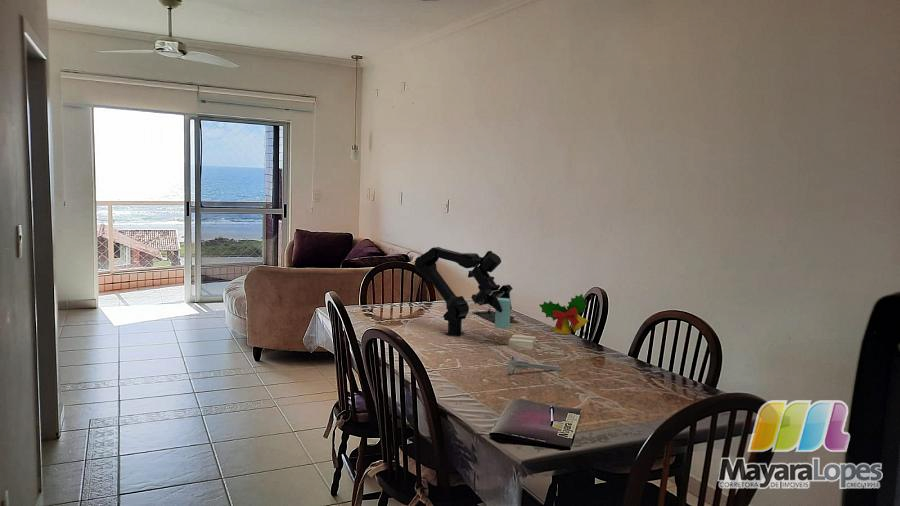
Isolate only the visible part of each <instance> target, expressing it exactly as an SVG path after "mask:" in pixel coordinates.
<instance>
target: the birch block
mask: <svg viewBox="0 0 900 506" xmlns="http://www.w3.org/2000/svg"><path fill="white" fill-rule="evenodd" d="M536 341H537V336H533V335H532V336H530V335H523V334H522V335H521V334H513V335H512V336H510V338H509V341H508V348H509V349H517V350H526V351H528V350H529V351H533V350H534V348H535V347H536V344H537V343H536Z"/></svg>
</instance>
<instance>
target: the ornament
mask: <svg viewBox="0 0 900 506" xmlns="http://www.w3.org/2000/svg"><path fill="white" fill-rule="evenodd" d="M586 300H587V299H586V298H584V295H583V293H581V294H580V295H575V296H574V297H570V301H567V304H568V305H563V306H562V305H560V303H559V302H557V303H553V302H552V301H551V300H549V302H546V301H543V304H538V305H539V307H540V308H541V313H545V318H551V319H552V321H553V322H554V321H555V320H557V321H556V323H555V326H554V327H553V329H552V332H553V333H555V334H559V333H560V334H561V335H570V334H572V333H573V332H574V333H576V332H577V331H578V330H580V329H581V328H582V327H584V326H585V325H586V324H587V323H589V320H588V319H586V318H585V317H583V316H581V315H580V314H581V313H585V307H587V306H588V305H587V304H586V302H585V301H586Z"/></svg>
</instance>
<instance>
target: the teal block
mask: <svg viewBox="0 0 900 506" xmlns="http://www.w3.org/2000/svg"><path fill="white" fill-rule="evenodd" d="M497 299H498V301H499V303H500V306H501V308H502V312H501V313H500V312H499V311H497V310H496V309H495V311H494V312H495V323H494V328H495V329H505V330H506V329H509V328H510V327H511V323H510V316H511V310H512V309H511V306H512V303H511V302H512V298H510V299H508V298H498V297H497ZM510 309H511V310H510Z"/></svg>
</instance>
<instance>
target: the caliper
mask: <svg viewBox="0 0 900 506" xmlns="http://www.w3.org/2000/svg"><path fill="white" fill-rule="evenodd" d="M517 358H518V357H517V356H513V355H512V356H511V358H510V359H509V361H508V364H507V374H508V375H511V373H512V375H516V374H517V372H518V370H519V368H520V369H522V370H526V371H527V370H528V369H537V370H538V369H539V370H545V371H547V370H548V371H554V372H557V371H564V369H563V368H562V367H561V366H558V365H550V364H541V363H535V362H529V361H527V360H521V359H517Z"/></svg>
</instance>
